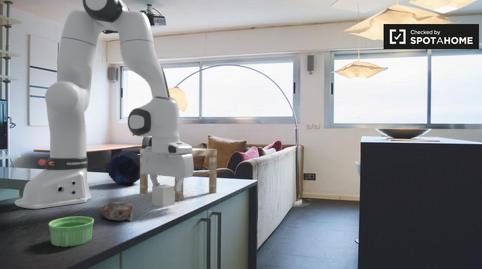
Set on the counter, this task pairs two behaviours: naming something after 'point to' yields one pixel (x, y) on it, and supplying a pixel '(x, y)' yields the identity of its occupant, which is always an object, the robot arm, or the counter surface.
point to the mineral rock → (118, 210)
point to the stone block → (163, 195)
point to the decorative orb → (124, 168)
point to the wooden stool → (179, 194)
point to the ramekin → (71, 231)
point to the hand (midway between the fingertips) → (166, 189)
